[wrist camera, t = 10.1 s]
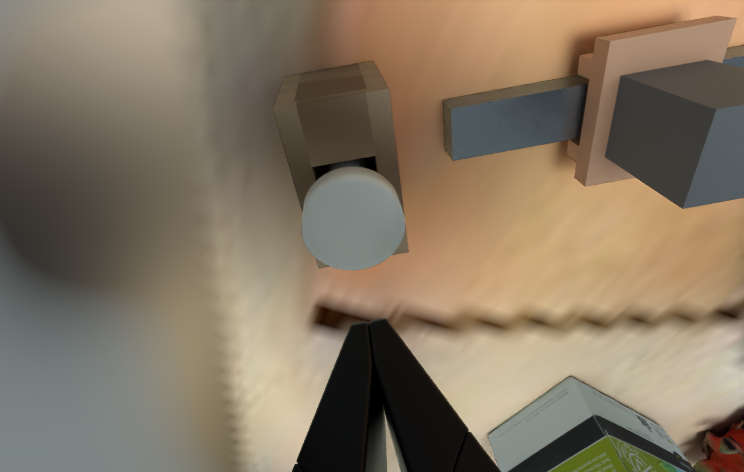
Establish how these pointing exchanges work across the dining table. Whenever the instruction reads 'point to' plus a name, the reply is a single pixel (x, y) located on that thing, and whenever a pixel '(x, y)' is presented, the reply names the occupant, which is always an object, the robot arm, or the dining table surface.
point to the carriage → (664, 112)
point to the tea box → (583, 436)
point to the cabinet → (337, 125)
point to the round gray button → (352, 217)
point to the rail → (523, 115)
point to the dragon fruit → (723, 451)
